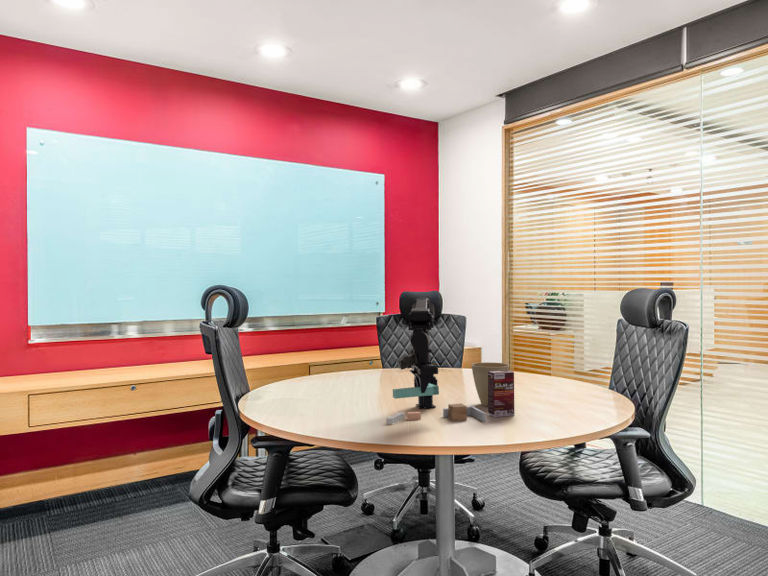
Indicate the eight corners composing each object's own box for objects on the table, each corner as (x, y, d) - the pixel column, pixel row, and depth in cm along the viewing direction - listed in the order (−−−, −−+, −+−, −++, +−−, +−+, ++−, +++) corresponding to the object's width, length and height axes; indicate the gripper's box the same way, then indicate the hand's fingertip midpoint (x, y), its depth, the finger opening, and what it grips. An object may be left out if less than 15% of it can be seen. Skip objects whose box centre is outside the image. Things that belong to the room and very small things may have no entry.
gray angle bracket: (442, 416, 197) (442, 407, 197) (472, 413, 200) (471, 405, 200) (453, 423, 185) (453, 415, 185) (485, 421, 188) (485, 412, 188)
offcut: (407, 419, 194) (407, 412, 194) (419, 418, 195) (419, 411, 195) (408, 420, 192) (408, 413, 192) (420, 419, 193) (420, 412, 193)
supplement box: (494, 417, 193) (493, 373, 193) (487, 414, 198) (486, 371, 198) (515, 415, 196) (514, 371, 196) (508, 412, 200) (507, 370, 200)
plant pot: (510, 409, 206) (509, 367, 206) (471, 408, 209) (470, 367, 209) (509, 401, 221) (508, 362, 221) (472, 400, 224) (472, 361, 224)
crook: (385, 394, 188) (385, 386, 188) (427, 390, 193) (427, 382, 193) (395, 398, 179) (395, 390, 179) (438, 394, 185) (438, 386, 185)
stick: (386, 425, 187) (386, 418, 187) (399, 418, 196) (399, 412, 196) (392, 425, 186) (391, 418, 186) (404, 419, 195) (404, 412, 195)
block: (448, 418, 194) (448, 404, 194) (461, 417, 195) (461, 403, 195) (453, 421, 189) (453, 407, 189) (466, 420, 191) (466, 406, 191)
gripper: (391, 344, 192) (392, 388, 191) (405, 350, 173) (406, 398, 173) (421, 343, 194) (422, 387, 194) (438, 348, 176) (439, 396, 176)
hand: (421, 392), depth 184 cm, fingers closed on crook, 3 cm apart
